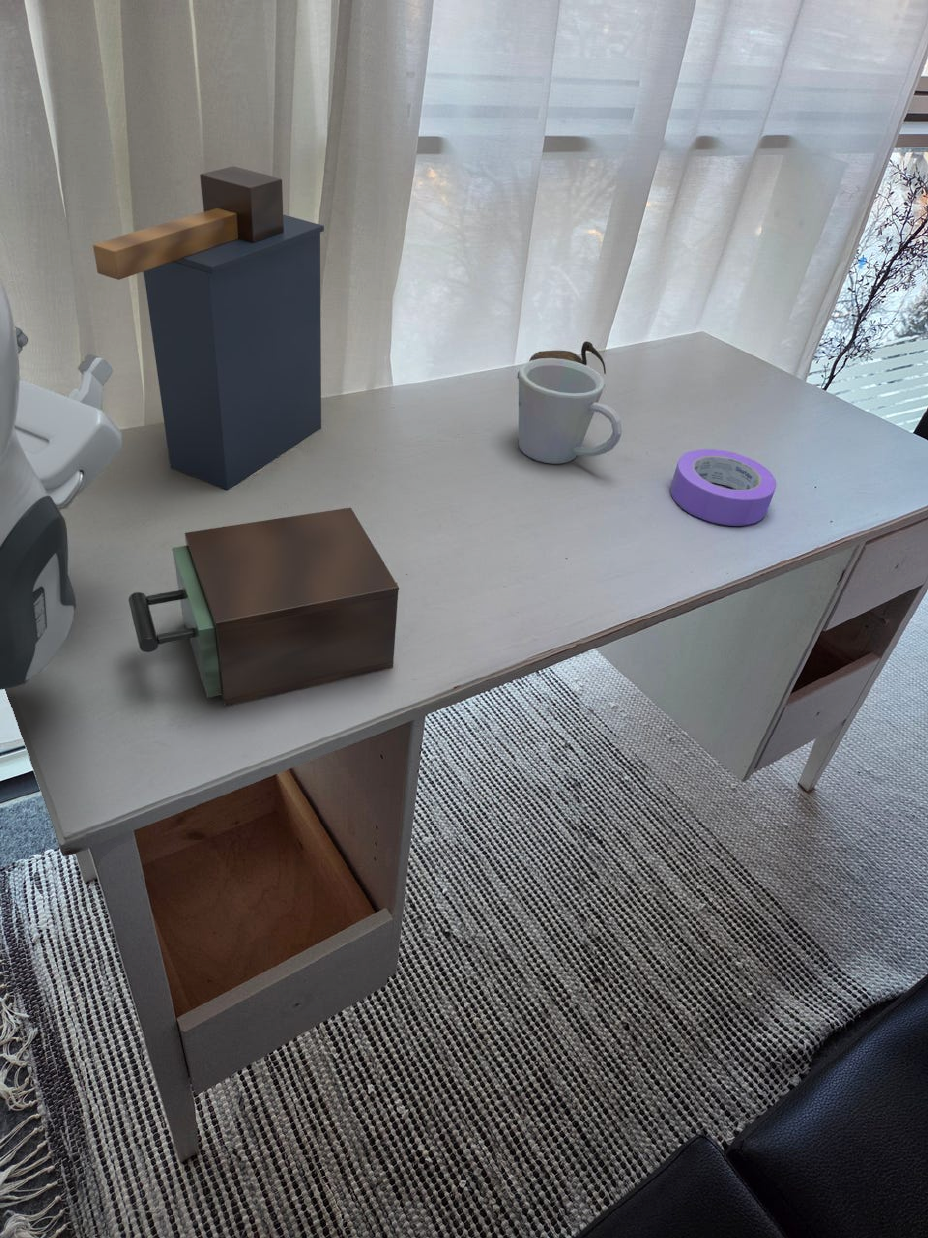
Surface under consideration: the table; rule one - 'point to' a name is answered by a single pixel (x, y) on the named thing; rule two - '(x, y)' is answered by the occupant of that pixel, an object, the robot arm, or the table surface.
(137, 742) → the table surface
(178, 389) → the stand
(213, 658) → the drawer
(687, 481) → the tape roll
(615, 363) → the table surface
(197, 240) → the mallet
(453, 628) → the table surface
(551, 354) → the figurine
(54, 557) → the robot arm
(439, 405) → the table surface
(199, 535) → the cabinet
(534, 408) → the mug
